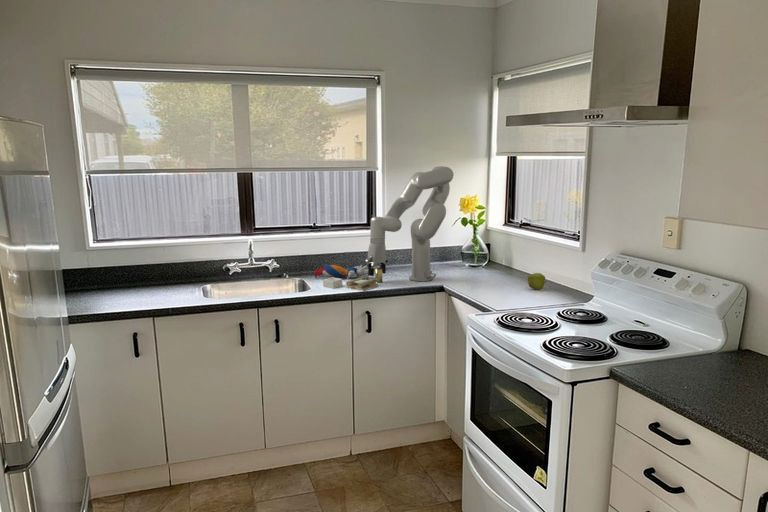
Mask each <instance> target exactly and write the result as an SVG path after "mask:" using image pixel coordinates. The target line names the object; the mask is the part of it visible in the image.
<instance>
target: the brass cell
mask: <svg viewBox="0 0 768 512" xmlns="http://www.w3.org/2000/svg"><path fill="white" fill-rule="evenodd" d="M374 275H375V277H374V279H376V282H377V284H381V282H382V283H383V273H382V268H380V266H379V267H377V268H374Z"/></svg>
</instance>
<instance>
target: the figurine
mask: <svg viewBox="0 0 768 512" xmlns="http://www.w3.org/2000/svg"><path fill="white" fill-rule="evenodd" d="M322 266H323V268H319V267H318V268H317V270H314V278H315V279H316V280H317V277H320V276H327V277H329V278H332V277H333V278H339V279H344V278H346V279H347V280H350V278H354V277H355V276H356V277H358V278H361V277H364V278H365V280H369V277H370V276H369V275H368V269H367V268H368V266H367V264H366V265H365V266H363V264H360V265H356V266H354V267H350V268H348V269H346V268H344V267H342V266H340V265H336V264H322Z"/></svg>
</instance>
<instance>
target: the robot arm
mask: <svg viewBox="0 0 768 512" xmlns="http://www.w3.org/2000/svg"><path fill="white" fill-rule="evenodd" d="M454 176H455V175H454V171H453V169H452V168H451V167H448V166H442V165H441V166H439V165H437V166H435V167H433V168H432V170H430V171H424V172H423V171H418V172H415V173H414V174H413V175H412V176H411V177H410V179H409V180H408V182H407V183H406V186H405V187H404V189H402V192H401V194H400V195H399V197H398V198H396V199H395V201H394V202H393V203H392V204H391V205H390V207H389V208H388V210H387V212H386V213H385V215H384V217H383V216H373V217H371V218H370V234H369V235H370V238H369V240H370V241H369V246H368V250H367V259H365V263H366V265H367V268H368V275H369V277H374V275H375V268H374V267H375V265H379V264H380V266H379V267H380V268H382V274H386V270H387V269H386V266H387V263H388V260H389V256H388V255H387V250H386V249H387V247H386V232H391V233H396V232H399V231H400V230H401V228H402V225H403V223H402V221H401V219H400V218H401V216H402V215H403V214H404V213H405V212H406V211H407V210H409V209H410V208H412V207H413V206H414V205H415V204H416V202H417V201H418V199H419V197H420V196H421V194H422V192H423V191H424V190H430V189H432V191H431V192H430V195H429V196H428V198H427V200H426V201H425V203H424V205H423V206H422V214H423V218H417V219H415V220H414V221H412V223H411V225H410V236H411V275H408V276H409V277H408V279H409V280H411V281H413V282H428V281H429V282H430V281H432V280H434V279H435V278H436V276H437V274H436V273H433V270H431V239H432V238H433V237H435V235H436V234H437V232H438V230H439V229H440V226H442V223H443V221H444V220H445V218H446V215H447V208H446V206H445V203H446V201H447V200H448V198H449V195H450V188H451V186H450V183H451V182H452V181H453V179H454Z"/></svg>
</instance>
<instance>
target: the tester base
mask: <svg viewBox="0 0 768 512" xmlns="http://www.w3.org/2000/svg"><path fill="white" fill-rule="evenodd" d="M358 280H367V281H364V282H361V283H354V282H355V281H358ZM345 284H346V285H345V286H346V289H350V288H351V289H352V290H356V289H358V290H357V291H361V290H364V291H366V289H367V290H370V289H373V288H376V286H377V287H379V283H376V279H375V278H371V279H365V278H364V277H361V278H360V277H357V278H354V279H351V280H350V279H349V280H347V281H346V282H345ZM369 288H370V289H369Z"/></svg>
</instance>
